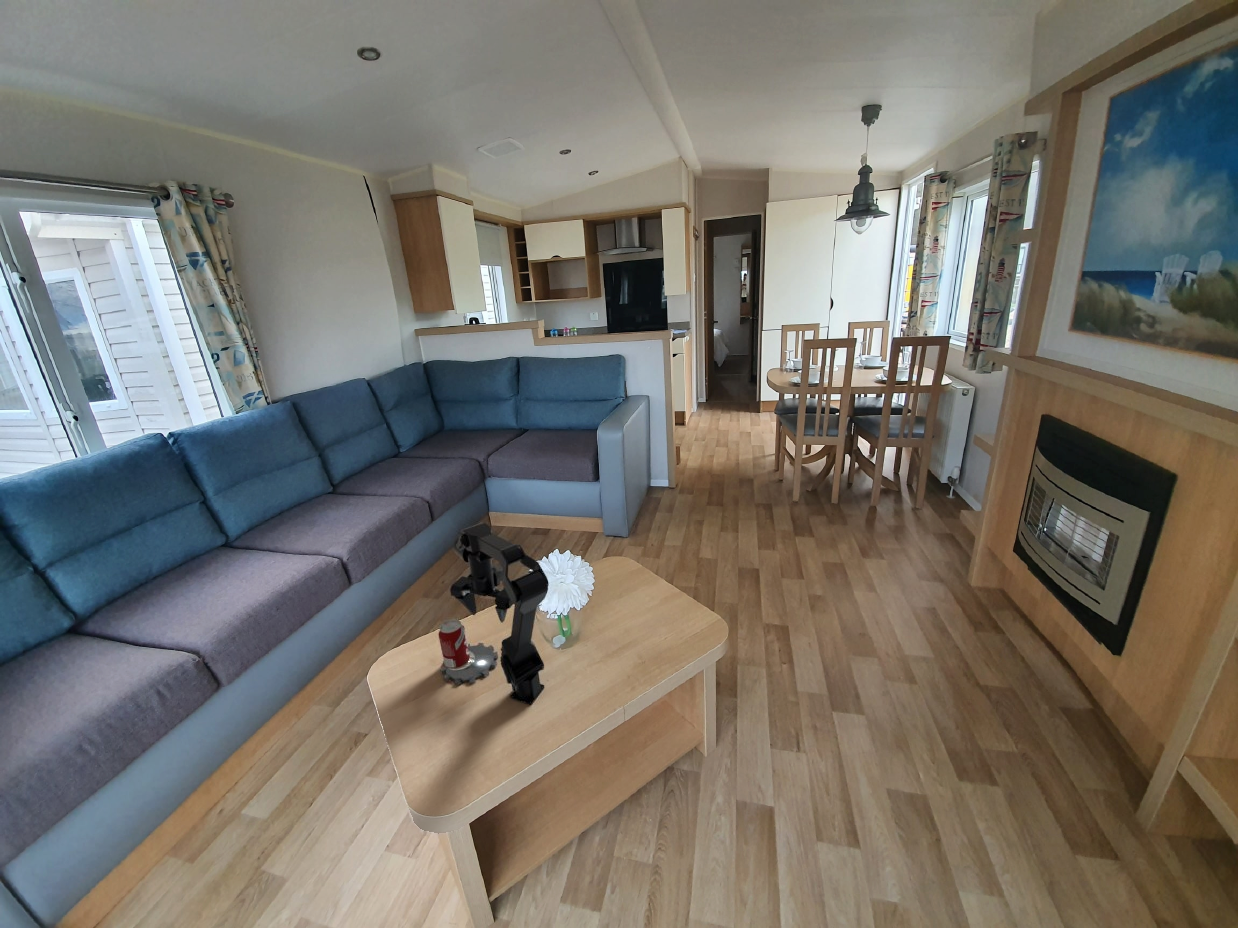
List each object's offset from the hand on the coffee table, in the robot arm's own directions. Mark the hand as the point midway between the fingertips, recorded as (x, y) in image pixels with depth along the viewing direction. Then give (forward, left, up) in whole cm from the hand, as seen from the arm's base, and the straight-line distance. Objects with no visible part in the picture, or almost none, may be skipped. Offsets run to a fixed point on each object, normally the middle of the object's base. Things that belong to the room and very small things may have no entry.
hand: (488, 617), depth 134 cm
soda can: (+8, +6, -12) cm, 16 cm away
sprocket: (+5, +5, -13) cm, 15 cm away
